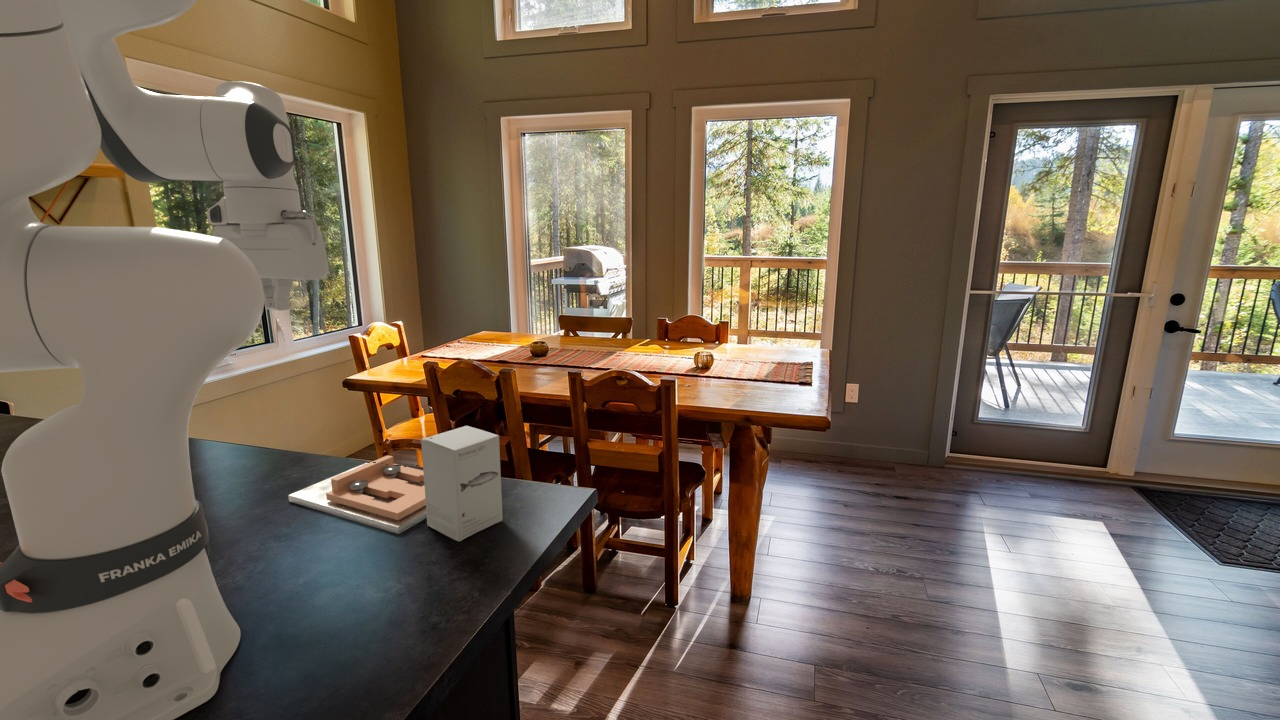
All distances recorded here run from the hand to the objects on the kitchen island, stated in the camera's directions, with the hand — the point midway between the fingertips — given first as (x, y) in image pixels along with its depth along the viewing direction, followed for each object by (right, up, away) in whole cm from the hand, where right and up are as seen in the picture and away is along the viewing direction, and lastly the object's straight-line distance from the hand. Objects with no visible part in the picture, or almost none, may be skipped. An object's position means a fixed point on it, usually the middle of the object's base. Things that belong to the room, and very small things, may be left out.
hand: (277, 309), depth 83 cm
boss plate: (+14, -28, +3) cm, 31 cm away
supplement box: (+29, -30, -5) cm, 42 cm away
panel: (+17, -27, +1) cm, 32 cm away
